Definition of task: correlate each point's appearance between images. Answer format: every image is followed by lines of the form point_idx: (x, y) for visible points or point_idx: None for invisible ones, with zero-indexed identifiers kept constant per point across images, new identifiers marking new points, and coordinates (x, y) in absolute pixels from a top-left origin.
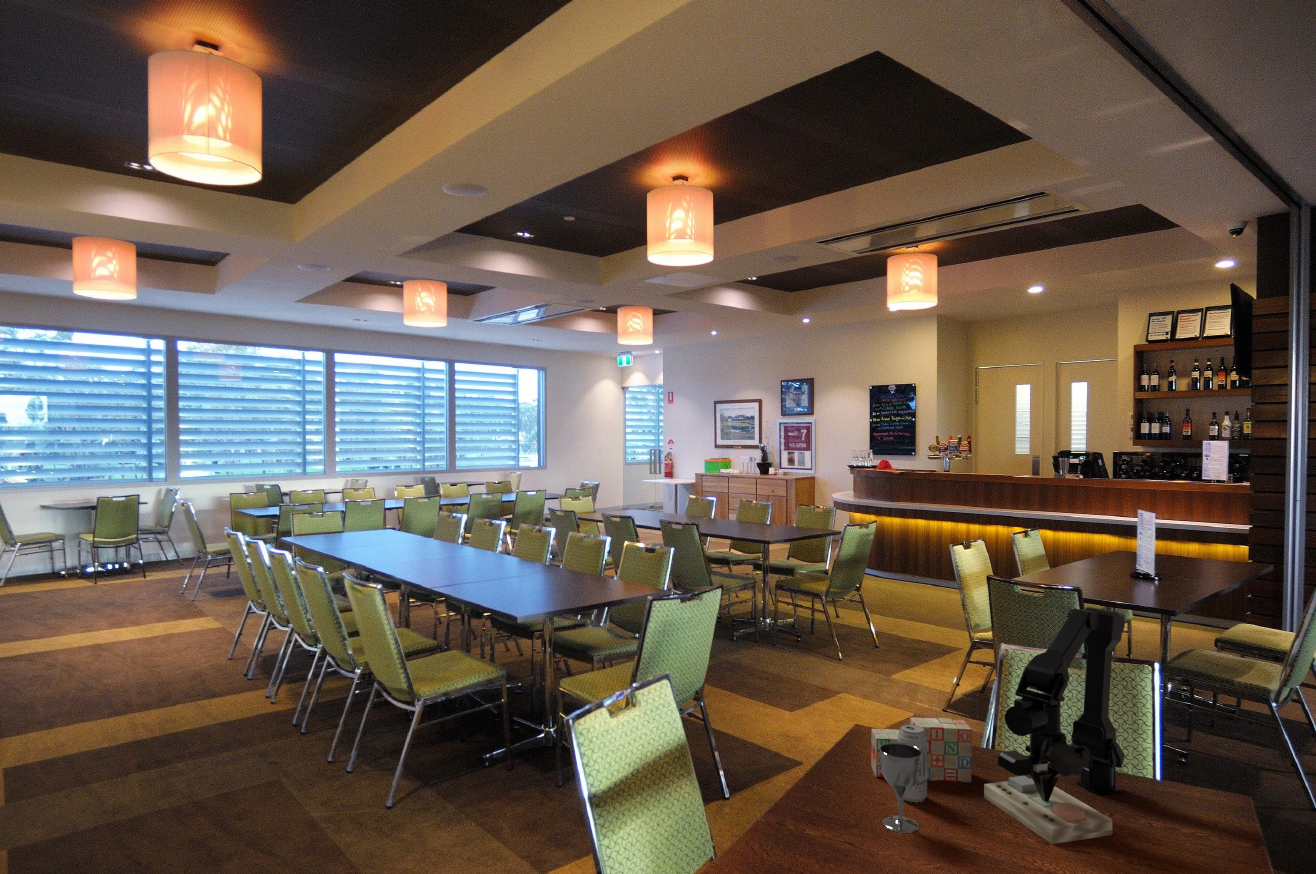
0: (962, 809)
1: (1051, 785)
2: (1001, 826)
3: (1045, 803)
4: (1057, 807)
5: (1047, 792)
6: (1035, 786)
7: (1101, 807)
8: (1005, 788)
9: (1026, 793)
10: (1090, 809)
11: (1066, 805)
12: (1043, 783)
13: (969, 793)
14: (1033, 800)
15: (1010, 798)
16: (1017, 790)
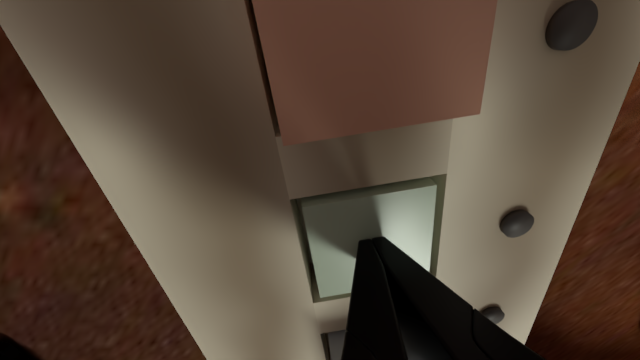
0: (624, 252)
1: (390, 337)
2: (635, 116)
3: (398, 216)
4: (486, 50)
5: (400, 279)
6: None
7: (20, 255)
8: None
9: None
10: (95, 115)
11: (361, 84)
12: (521, 351)
13: None
14: (429, 255)
15: (533, 272)
16: None
